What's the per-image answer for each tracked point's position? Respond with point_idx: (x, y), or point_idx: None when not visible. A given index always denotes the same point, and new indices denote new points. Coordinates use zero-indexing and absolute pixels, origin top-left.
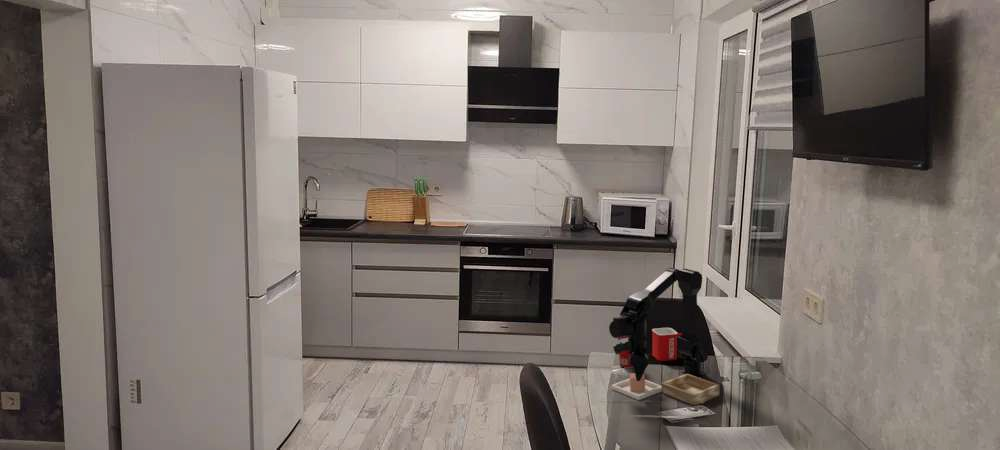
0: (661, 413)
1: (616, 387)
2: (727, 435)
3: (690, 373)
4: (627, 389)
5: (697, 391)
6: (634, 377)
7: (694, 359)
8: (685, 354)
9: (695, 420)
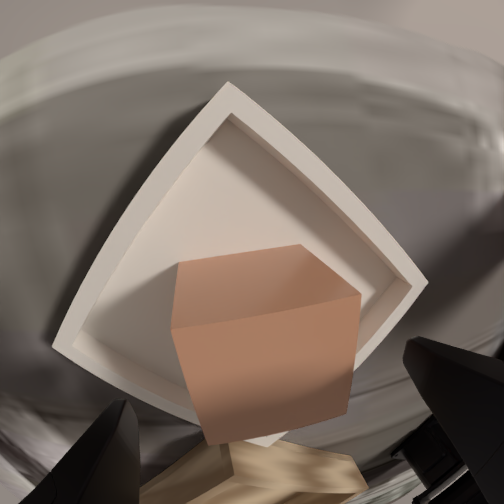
0: (14, 410)
1: (179, 137)
2: (23, 493)
3: (408, 453)
4: (234, 233)
5: (263, 498)
6: (217, 370)
7: (431, 492)
8: (459, 483)
9: (41, 475)
